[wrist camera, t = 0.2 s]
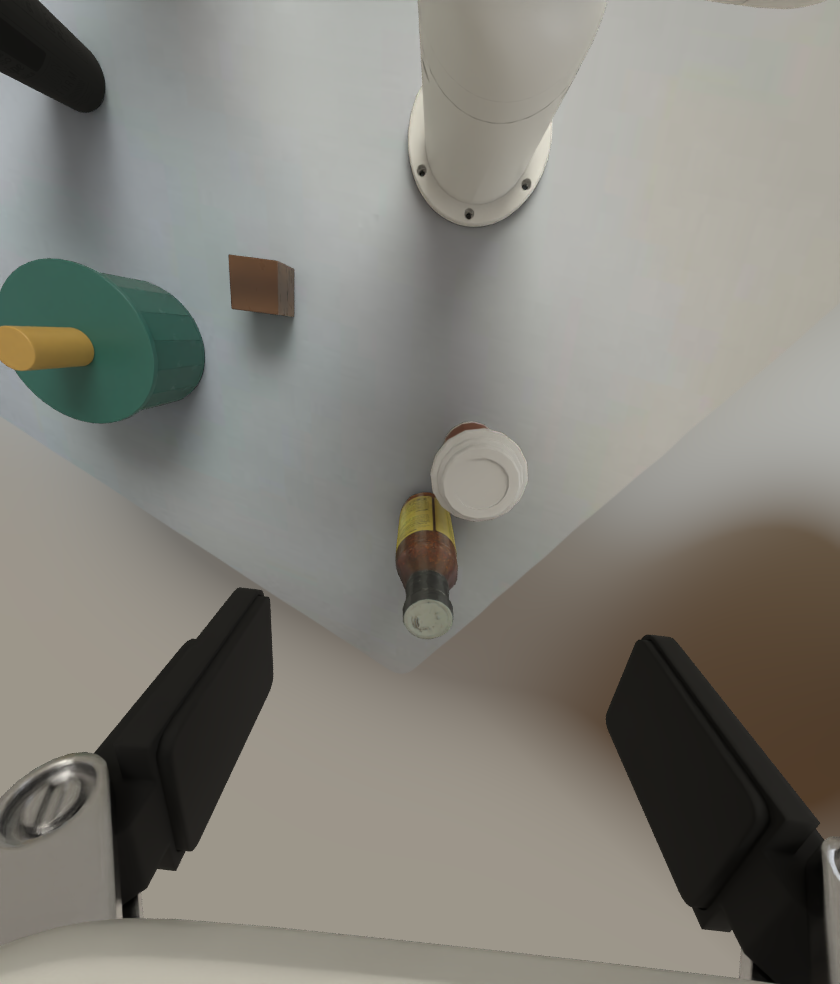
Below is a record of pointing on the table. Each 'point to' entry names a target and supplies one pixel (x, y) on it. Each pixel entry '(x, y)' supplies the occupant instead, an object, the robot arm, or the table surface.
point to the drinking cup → (48, 56)
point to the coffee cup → (478, 472)
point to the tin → (167, 339)
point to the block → (261, 286)
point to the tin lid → (77, 341)
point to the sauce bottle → (426, 565)
